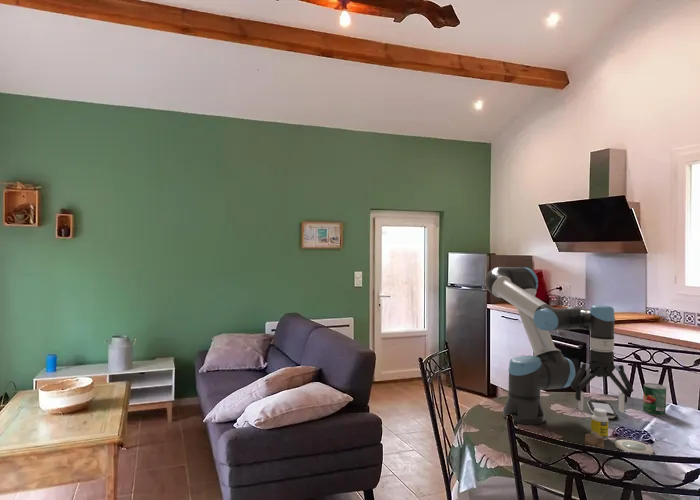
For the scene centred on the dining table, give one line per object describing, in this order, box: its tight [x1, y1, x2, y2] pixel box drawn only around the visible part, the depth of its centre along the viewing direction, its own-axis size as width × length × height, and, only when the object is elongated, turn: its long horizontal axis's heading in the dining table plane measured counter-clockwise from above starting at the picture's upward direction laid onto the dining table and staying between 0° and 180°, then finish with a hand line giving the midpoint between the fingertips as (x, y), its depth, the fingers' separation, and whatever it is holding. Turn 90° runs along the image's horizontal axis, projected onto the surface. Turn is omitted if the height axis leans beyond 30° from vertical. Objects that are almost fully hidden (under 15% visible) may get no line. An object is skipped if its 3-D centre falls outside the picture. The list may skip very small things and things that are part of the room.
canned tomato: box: [642, 382, 667, 417], centre depth 200 cm, size 8×8×11 cm
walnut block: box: [584, 432, 605, 449], centre depth 164 cm, size 4×4×4 cm
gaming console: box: [586, 399, 618, 420], centre depth 200 cm, size 19×9×3 cm, turn 162°
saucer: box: [614, 439, 654, 455], centre depth 164 cm, size 11×11×1 cm
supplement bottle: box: [590, 408, 609, 441], centre depth 172 cm, size 5×5×10 cm
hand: (600, 410), depth 172 cm, fingers open, 13 cm apart
